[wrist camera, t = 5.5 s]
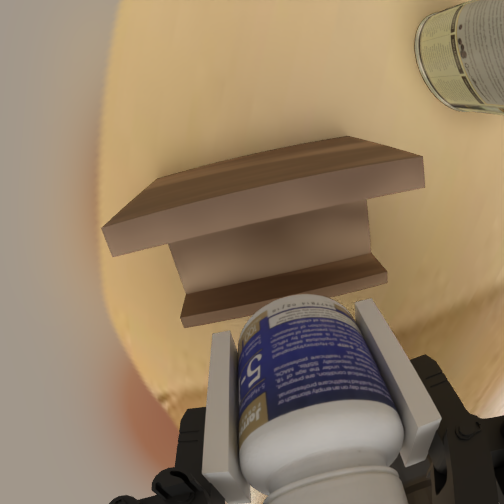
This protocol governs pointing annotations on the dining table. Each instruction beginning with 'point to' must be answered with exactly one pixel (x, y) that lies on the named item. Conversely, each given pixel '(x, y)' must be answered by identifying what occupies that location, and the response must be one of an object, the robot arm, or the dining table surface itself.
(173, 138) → the dining table surface
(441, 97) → the coffee can
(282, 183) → the wooden display stand
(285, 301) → the pill bottle
